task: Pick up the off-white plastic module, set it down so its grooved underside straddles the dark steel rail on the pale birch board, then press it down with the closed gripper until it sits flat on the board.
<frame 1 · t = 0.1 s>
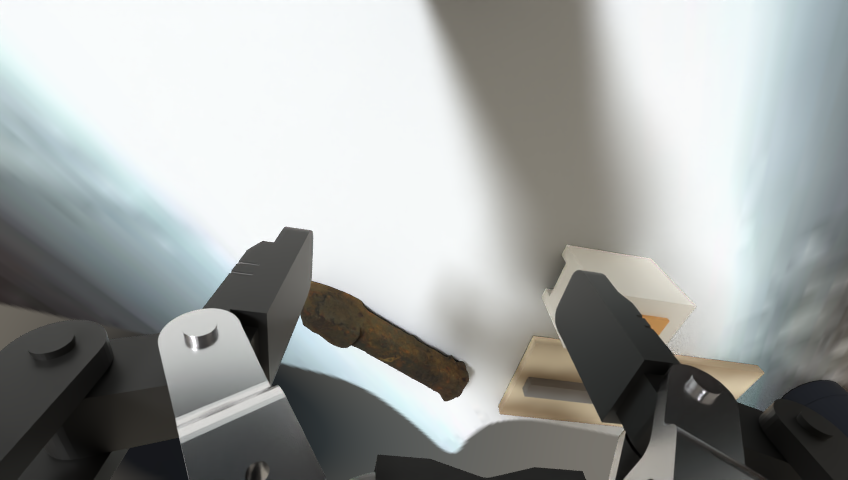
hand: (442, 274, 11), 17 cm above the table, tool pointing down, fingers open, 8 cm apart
wine bottle: (806, 395, 43), on the table
rail board: (622, 386, 42), on the table
module: (594, 278, 33), on the table
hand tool: (384, 327, 37), on the table
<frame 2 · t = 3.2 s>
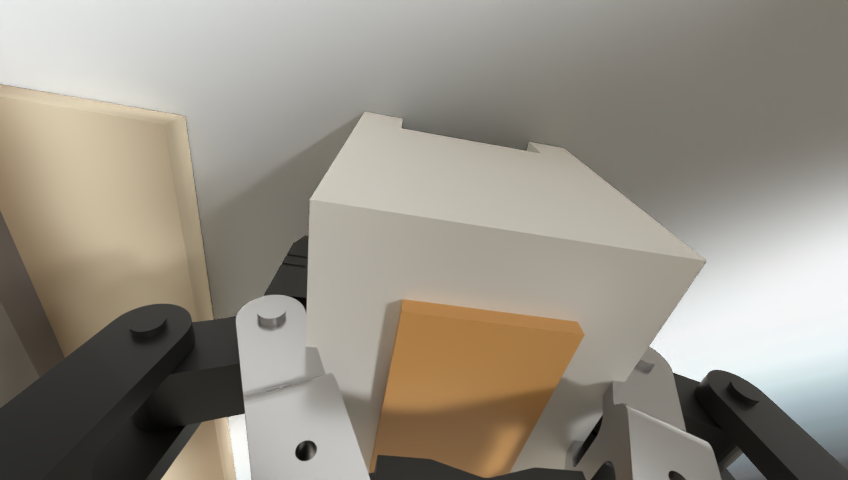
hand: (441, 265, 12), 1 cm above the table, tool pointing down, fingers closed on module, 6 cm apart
rail board: (83, 393, 16), on the table
module: (439, 245, 13), on the table, touching gripper
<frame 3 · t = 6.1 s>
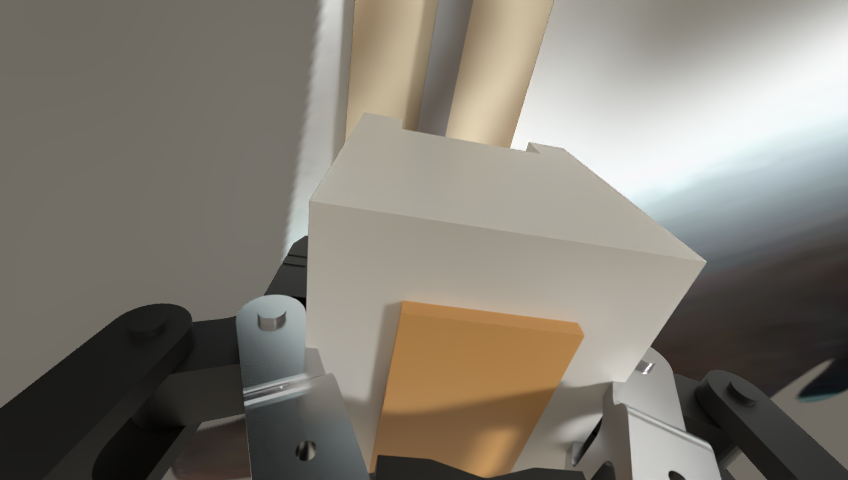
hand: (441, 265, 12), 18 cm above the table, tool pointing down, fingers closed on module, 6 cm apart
rail board: (429, 131, 27), on the table
module: (439, 246, 13), point 17 cm above the table, touching gripper
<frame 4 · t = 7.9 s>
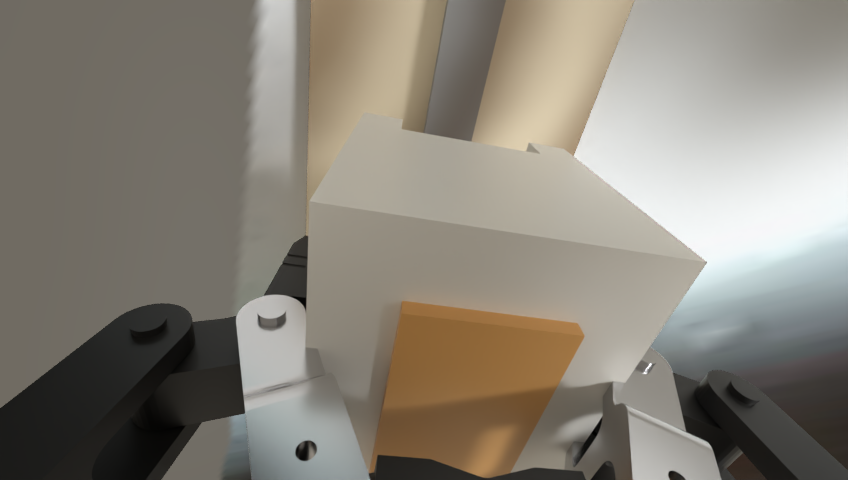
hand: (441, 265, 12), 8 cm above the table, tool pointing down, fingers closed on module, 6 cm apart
rail board: (433, 180, 18), on the table
module: (439, 246, 13), point 7 cm above the table, touching gripper
when the fingers open (4 cm above the table, at t = 9.3 s): module drops 1 cm, resting on rail board.
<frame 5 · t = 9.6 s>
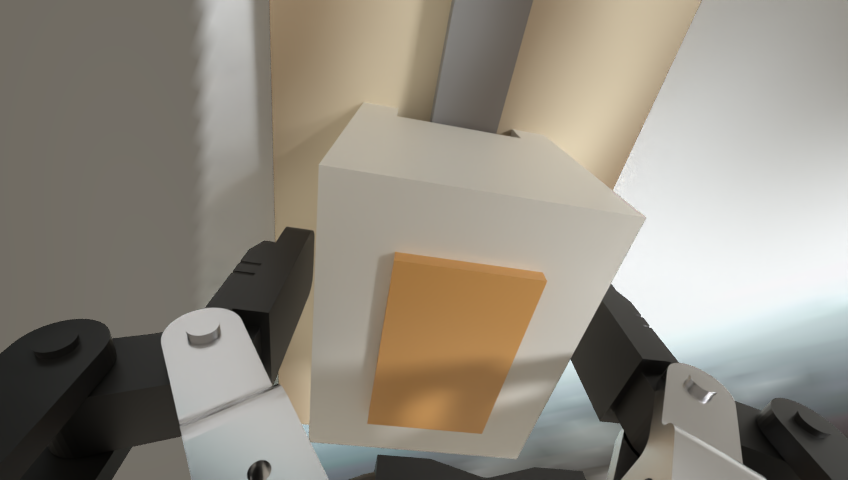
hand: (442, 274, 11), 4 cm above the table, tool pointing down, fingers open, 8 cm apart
rail board: (435, 215, 15), on the table
module: (432, 226, 14), point 1 cm above the table, touching rail board
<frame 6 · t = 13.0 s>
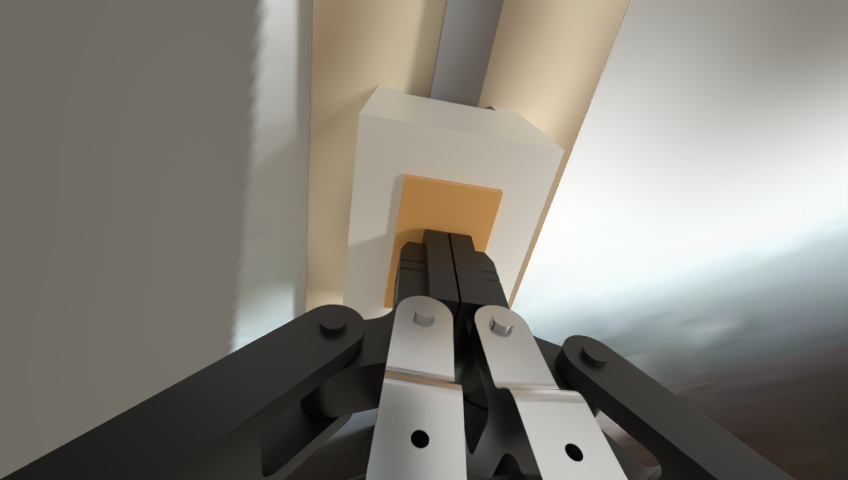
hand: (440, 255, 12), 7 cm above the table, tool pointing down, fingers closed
rail board: (433, 177, 19), on the table
module: (431, 183, 18), point 1 cm above the table, touching gripper, rail board
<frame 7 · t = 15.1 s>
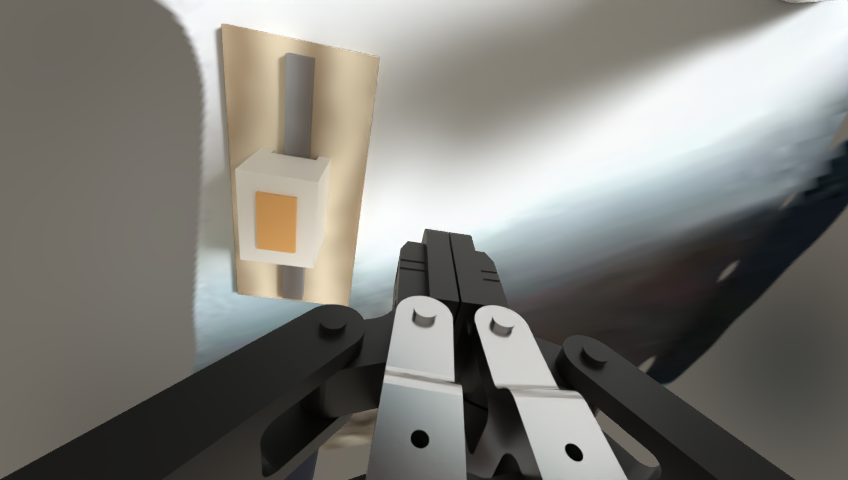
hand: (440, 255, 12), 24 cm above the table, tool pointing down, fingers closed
wine bottle: (310, 356, 47), on the table
rail board: (300, 189, 35), on the table
module: (296, 193, 35), point 1 cm above the table, touching rail board
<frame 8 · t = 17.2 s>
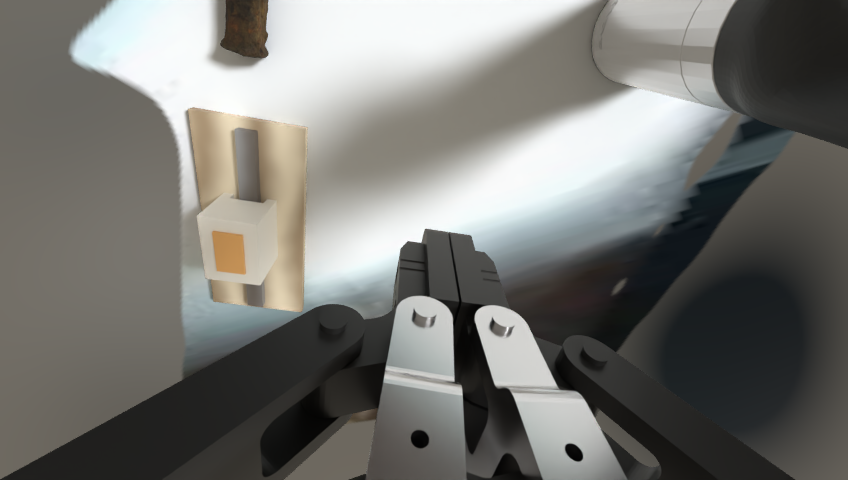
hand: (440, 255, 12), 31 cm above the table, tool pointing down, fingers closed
rail board: (256, 222, 46), on the table
module: (252, 226, 45), point 1 cm above the table, touching rail board
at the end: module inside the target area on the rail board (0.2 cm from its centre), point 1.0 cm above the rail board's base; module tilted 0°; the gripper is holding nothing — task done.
